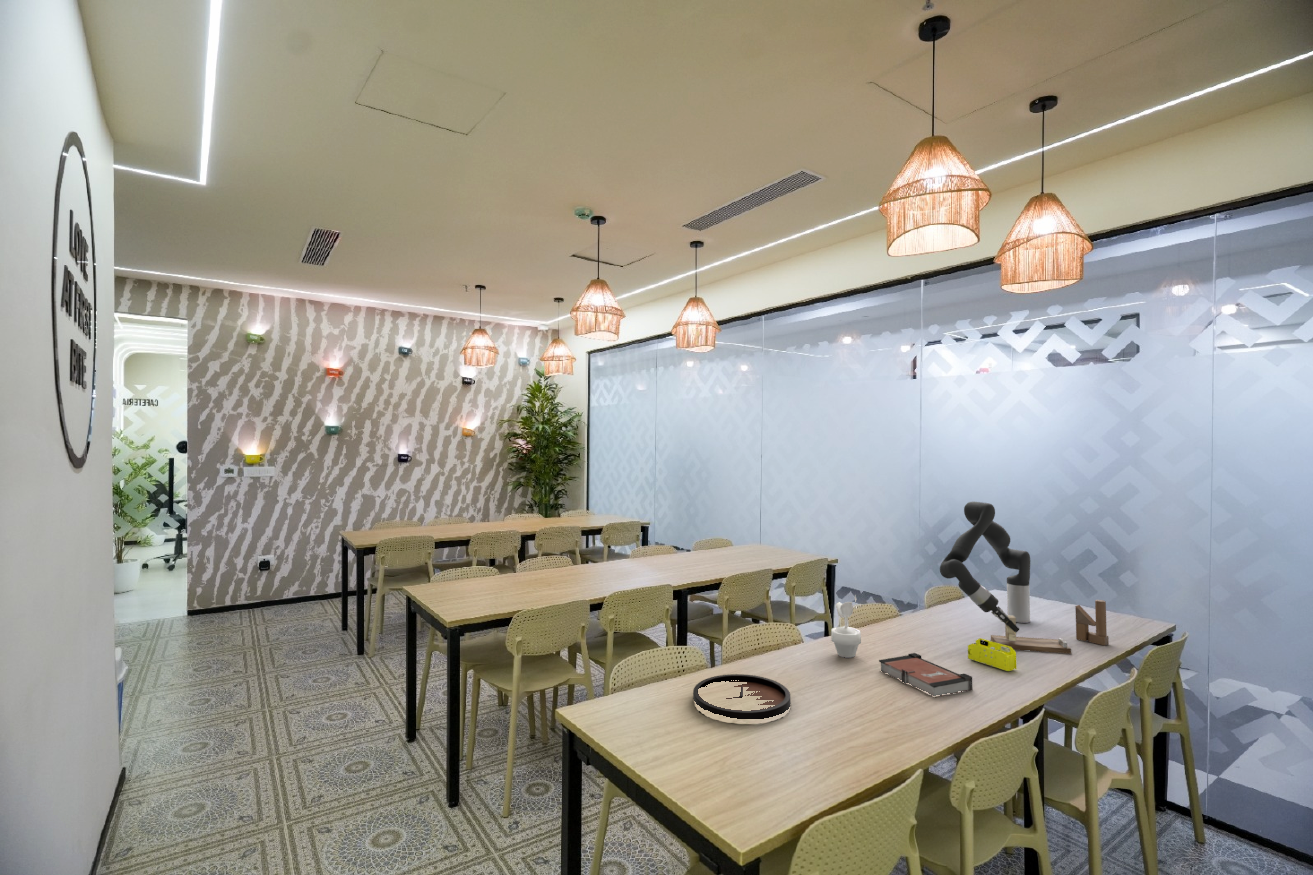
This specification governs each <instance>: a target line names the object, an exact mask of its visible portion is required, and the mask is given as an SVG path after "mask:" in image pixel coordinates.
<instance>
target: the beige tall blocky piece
mask: <svg viewBox="0 0 1313 875" xmlns="http://www.w3.org/2000/svg"><path fill="white" fill-rule="evenodd" d="M1006 615H1007V616H1008V618H1009V619H1010V620H1011V621H1012V622H1013V623H1014V624H1015V625H1016V626H1017V622H1016V618H1015V617H1014V616H1010V615H1008V614H1006ZM1008 621H1009V620H1008ZM1008 621H1006V623H1007V622H1008ZM1004 625H1005V627H1004V628H1005V630H1004V632H1005V635H1004V636H1006V638H1007V639H1008V640H1010V641H1016V637H1017V632H1014V631H1013V630H1012V629H1011V628H1010V627H1009V626H1007V625H1006V624H1005V623H1004Z"/></svg>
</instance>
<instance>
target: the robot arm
mask: <svg viewBox="0 0 1313 875" xmlns="http://www.w3.org/2000/svg"><path fill="white" fill-rule="evenodd" d="M963 512H964V516H965V518H966V521H968V522H969V523H970V524H971V525H972V527H971V528H969V529H968V530H966V531H965V532H963V533H962V534H961V535H959V537H957V539H956V540H955V542H954V544H953V546H952V548H951V550H950V551H949V553H948V554H947V555H946V556H945V557H944V559H943V560H942V562H941V563H940V564H939V572H940V574H941V576H942V577H943V578H945V579H954V578H956V579H957V580H958V585H957V586H958V587H959V588H960V590H962V592H963V593H965V594H966V595H967V596H968V597H969V599H970V600H971V601H972V602H973V604H975V605H976V606H978V608H979V609H980V610H981V611H983V612H984V613H991V614H992V615H993V616H994V617H995V618H997V619H998V620H999V621H1000V622H1001V623H1004V625H1005V624H1006V625H1007V626H1009V627H1010V628H1011V629H1012V630H1013V631H1014V632H1016V633H1018V632H1019V631H1020V628H1019V627H1018V625H1017V624H1016V625H1015V624H1014V623H1013V622H1012V621H1011V620H1010V619H1009V618H1008V616H1007V615H1010V616H1014V617H1015V618H1016V623H1020V624H1021V623H1022V624H1023V623H1025V624H1027V623H1031V602H1030V600H1031V597H1030V596H1031V595H1030V594H1031V592H1030V580H1031V556H1030V553H1029V552H1028V551H1026V550H1020V549H1013V548H1009V546H1010V544H1011V536H1010V535H1009V532H1007V530H1006V529H1005V527H1003V526H1002V525H1001V524H999V523H997V522H995V521H994V519H995V516H996V509H995V506H994V505H993V504H992V503H987V502H983V501H982V502H981V501H968V502H967V503H966V504H965V505H964V507H963ZM982 536H983V538H984V539H985V541H986V542H987V543H988V544H989V545H990V546H991V547H992V549H993V550H994V551H995V553H996V554H997V556H998V557H999V560H1000V561H1001V563H1002V564H1003V565H1004V567H1005V568H1008V569H1009V570H1010V569H1012V570H1016V571H1017V570H1018V573H1017V574H1014V575H1010V576H1007V577H1006V601H1007V602H1006V603H1007V604H1006V605H1007V614H1006V612H1004V610H1003V609H1002V608H1001V607H1000V606H999V605H998V604H999V599H998V598H997V597H996V596H994V594H992V593H991V592H990V591H989V589H987V588H985V586H984V585H982V584H980V582H978V581H977V580H976V578H975V577H973V575H972V573H971V572H970V571H969V568H968V567H967V566H966V564H964V562H966V561H967V560H968V559H969V557H970V554H971V553H972V552H973V548H974V547H975V546H976V544H977V542H978V540H979V539H980V538H981V537H982ZM1008 620H1009V621H1008ZM1006 621H1008V622H1007V623H1006Z"/></svg>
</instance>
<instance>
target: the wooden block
mask: <svg viewBox="0 0 1313 875" xmlns="http://www.w3.org/2000/svg"><path fill="white" fill-rule="evenodd" d="M1094 603H1095V604H1094V605H1095V606H1094V607H1095V611H1094V612H1095V619H1094V618H1092V617H1091V616H1090V614H1089V613H1087V611H1086V610H1085V609H1084V608H1083V607H1082V606H1081V605H1080V604H1079V605H1075V606H1074V607H1075V608H1074V609H1075V630H1076V631H1075V639H1076V640H1078V641H1083V642H1086V641H1088V642H1089V643H1091V644H1096V645H1100V646H1107V645H1109V642H1110V641H1109V640H1110V639H1109V635H1108V634H1107V631H1108V630H1107V602H1106V601H1105V600H1103V599H1095V601H1094ZM1089 626H1091V627H1095V632H1093V631H1089V629H1090V628H1089Z"/></svg>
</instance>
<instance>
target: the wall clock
mask: <svg viewBox="0 0 1313 875" xmlns="http://www.w3.org/2000/svg"><path fill="white" fill-rule="evenodd" d="M731 680H732V681H731ZM733 680H734V681H733ZM735 680H737V681H735ZM738 680H739V681H738ZM721 681H725V682H726V681H729V682H747V684H742V685H738V686H734V687H741V692H740V696H739V697H733V698H742V697H743V687H749V688H748V689H747V690H746V691H755V693H754V692H753V693H754V694H753V693H751V695H750V694H748V695H747V696H749V695H750V696H762V697H760V699H758V698H757V699H756V700H774V701H773V702H772V701H769V702H768V701H767V702H765V703H763V704H760V705H775V706H773V707H771V706H770V707H768V708H767V709H766V708H765V709H764V708H763V709H760V710H751V711H742V710H731V709H725V708H721V707H717V706H714V705H712V704H709V703H708V702H706V701H704V700H703V699H702V698H701V697H700V696H699V694H698V689H699V688H701V687H705V686H706V685H708V684H710V683H713V682H721ZM706 687H707V686H706ZM756 691H758V692H757V693H756ZM759 691H760V692H759ZM692 694H693V695H692V699H694V701H695V702H696V704H697V705H699V706H700V707H701V708H703V709H704V710H708V711H710V712H712V713H714V714H719V715H723V716H726V717H730V718H737V719H764V718H769V717H773V716H776V715H779V714H782V713H784V712H785V711H786V710H788V709H789V707H790V704H791V700H792V698H791V693H790V691H789V689H788V688H787V686H785V685H783V684H781V682H778V681H777V680H773V679H770V678H768V677H764V676H760V675H755V674H754V675H753V674H752V675H751V674H743V673H742V674H741V673H733V674H731V673H730V674H721V675H716V676H711V677H708V678H705V679H703V680H701V681H700V682H698V683H697V684H695V686H694V687H693V692H692ZM752 694H753V695H752ZM745 696H746V695H745ZM726 699H732V698H726ZM758 705H759V704H758Z"/></svg>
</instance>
